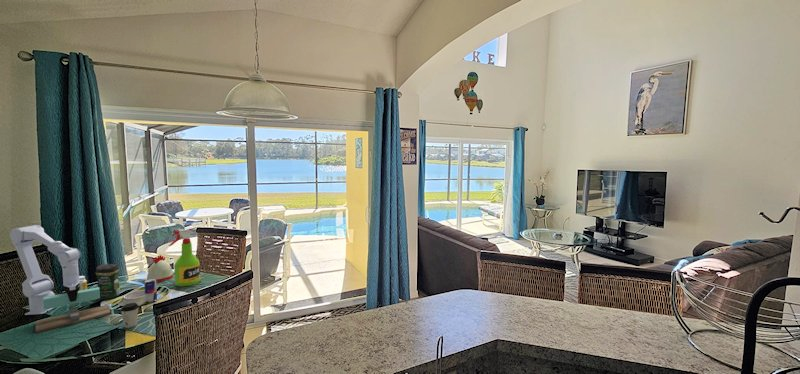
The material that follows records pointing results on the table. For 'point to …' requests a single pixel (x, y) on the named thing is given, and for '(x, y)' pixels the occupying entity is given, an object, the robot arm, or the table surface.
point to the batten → (64, 300)
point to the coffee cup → (130, 314)
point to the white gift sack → (160, 270)
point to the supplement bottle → (82, 283)
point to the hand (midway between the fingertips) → (72, 299)
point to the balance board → (67, 318)
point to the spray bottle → (186, 261)
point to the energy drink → (150, 290)
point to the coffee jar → (108, 280)
